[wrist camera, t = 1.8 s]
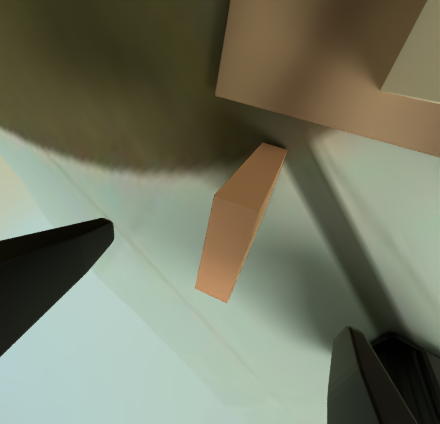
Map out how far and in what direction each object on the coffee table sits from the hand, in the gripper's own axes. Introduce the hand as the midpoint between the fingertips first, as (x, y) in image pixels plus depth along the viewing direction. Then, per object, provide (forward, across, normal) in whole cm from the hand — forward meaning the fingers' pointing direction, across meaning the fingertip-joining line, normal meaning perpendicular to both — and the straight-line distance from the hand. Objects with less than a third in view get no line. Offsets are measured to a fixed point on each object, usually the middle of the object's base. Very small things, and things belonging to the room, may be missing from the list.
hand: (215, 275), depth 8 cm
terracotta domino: (+9, 0, 0) cm, 9 cm away
